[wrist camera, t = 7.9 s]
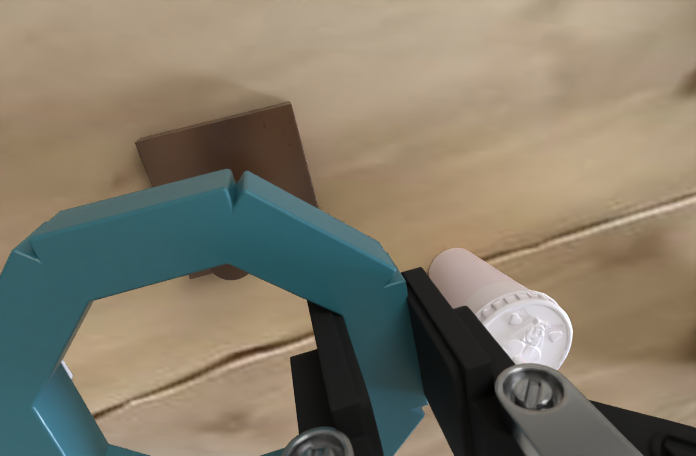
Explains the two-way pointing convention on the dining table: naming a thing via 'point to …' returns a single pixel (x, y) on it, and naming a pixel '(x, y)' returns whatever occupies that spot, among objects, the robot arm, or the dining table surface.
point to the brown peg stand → (233, 156)
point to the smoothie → (505, 308)
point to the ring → (179, 260)
